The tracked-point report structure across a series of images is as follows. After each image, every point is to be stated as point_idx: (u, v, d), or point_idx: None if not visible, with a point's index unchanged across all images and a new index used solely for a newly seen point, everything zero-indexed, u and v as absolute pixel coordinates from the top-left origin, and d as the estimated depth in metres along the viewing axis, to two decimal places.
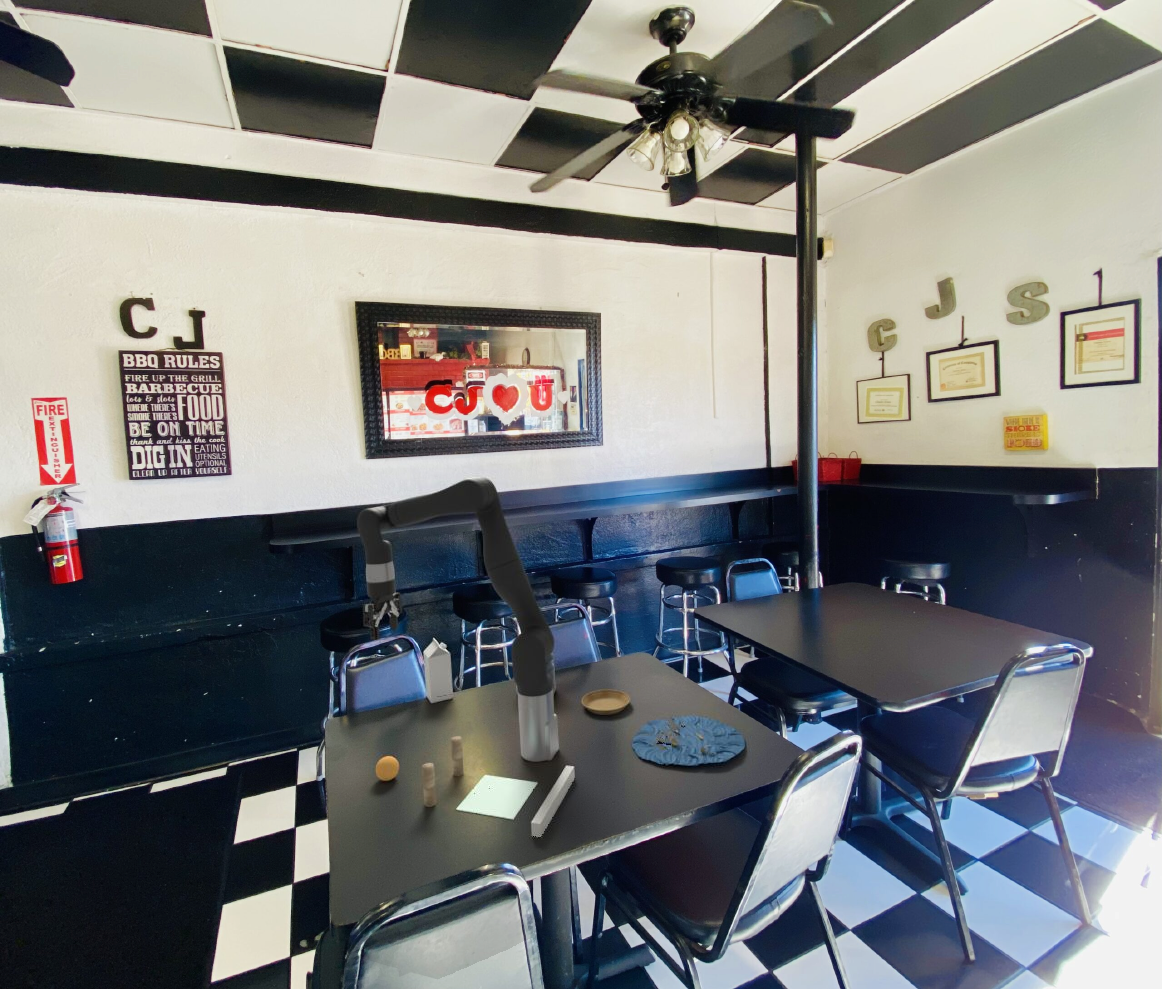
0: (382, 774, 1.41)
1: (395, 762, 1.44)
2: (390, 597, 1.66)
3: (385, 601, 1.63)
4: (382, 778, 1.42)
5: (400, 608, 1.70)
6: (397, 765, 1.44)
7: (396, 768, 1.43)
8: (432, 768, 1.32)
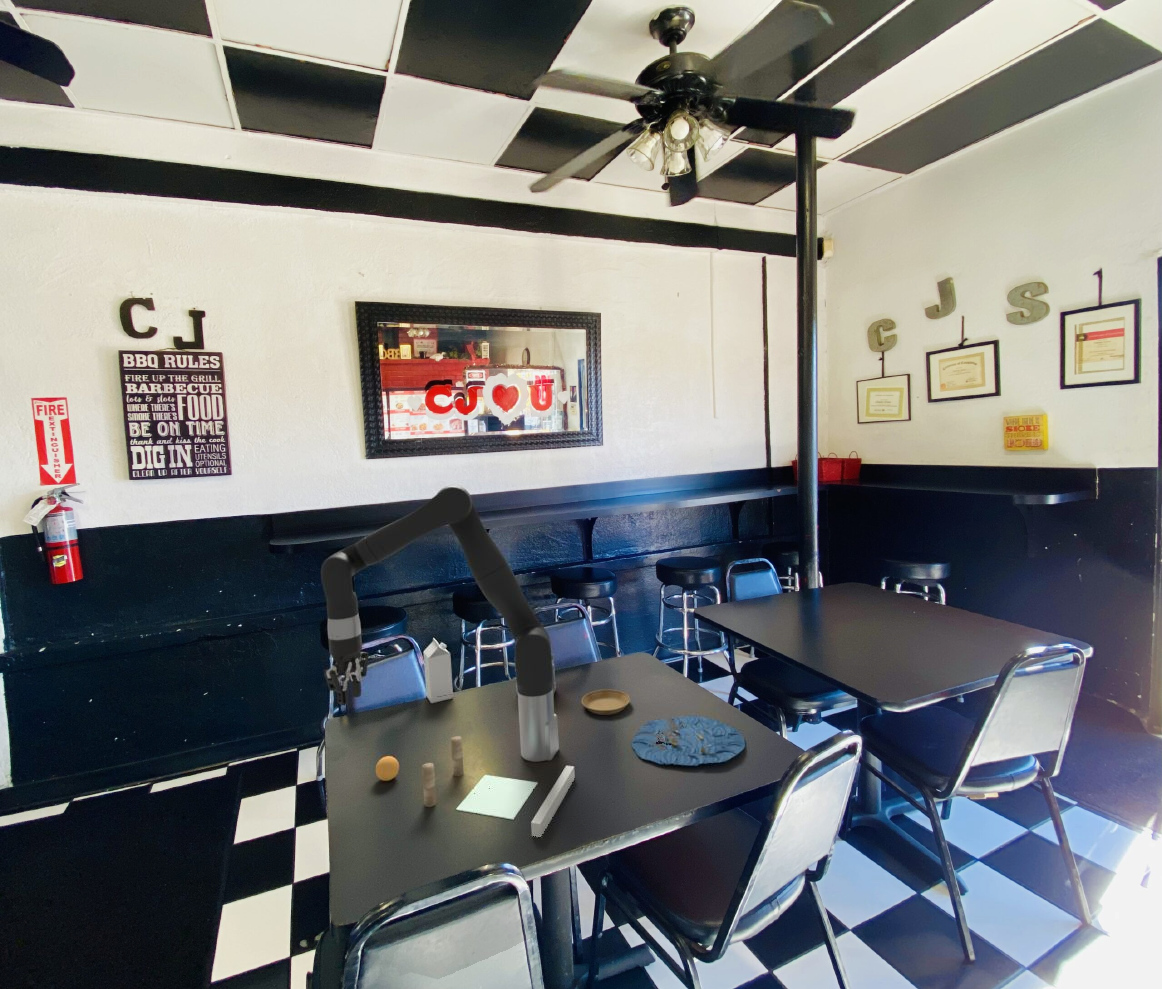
0: (382, 774, 1.41)
1: (395, 762, 1.44)
2: (356, 653, 1.47)
3: (350, 659, 1.44)
4: (382, 778, 1.42)
5: (364, 671, 1.49)
6: (397, 765, 1.44)
7: (396, 768, 1.43)
8: (432, 768, 1.32)
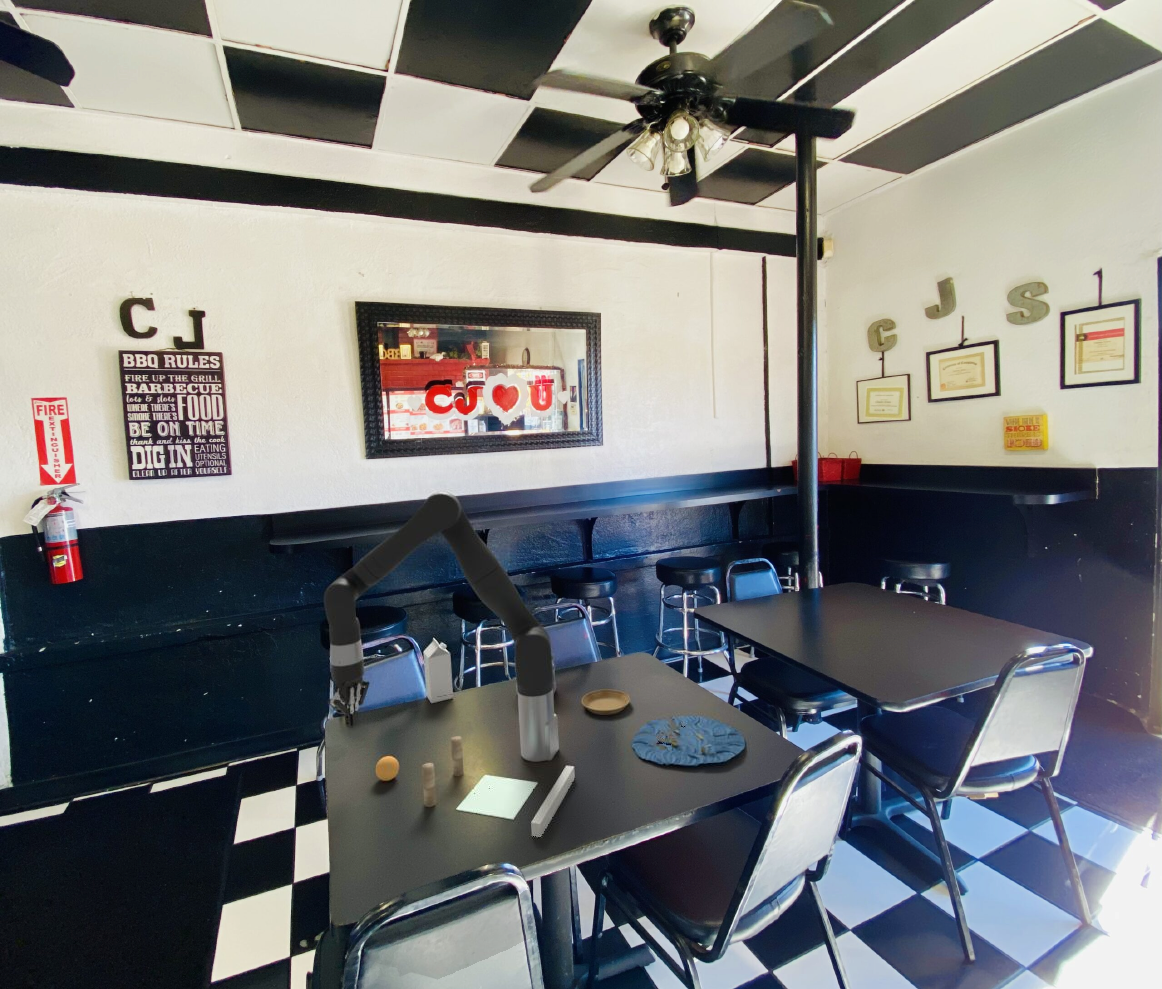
0: (382, 774, 1.41)
1: (395, 762, 1.44)
2: None
3: (352, 685, 1.45)
4: (382, 778, 1.42)
5: (362, 699, 1.48)
6: (397, 765, 1.44)
7: (396, 768, 1.43)
8: (432, 768, 1.32)
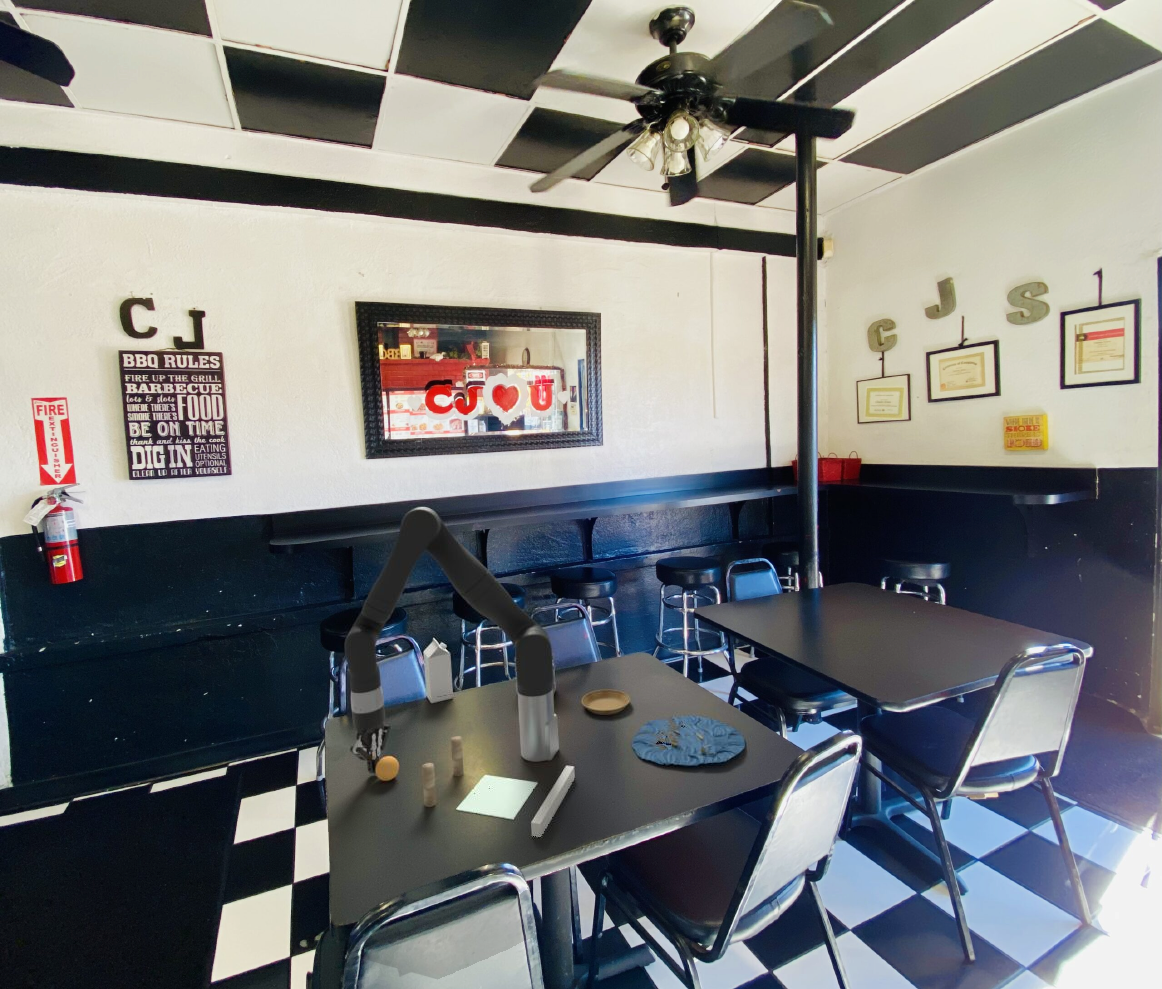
0: (382, 774, 1.41)
1: (395, 762, 1.44)
2: None
3: (373, 731, 1.45)
4: (382, 778, 1.42)
5: (383, 744, 1.48)
6: (397, 765, 1.44)
7: (396, 768, 1.43)
8: (432, 768, 1.32)
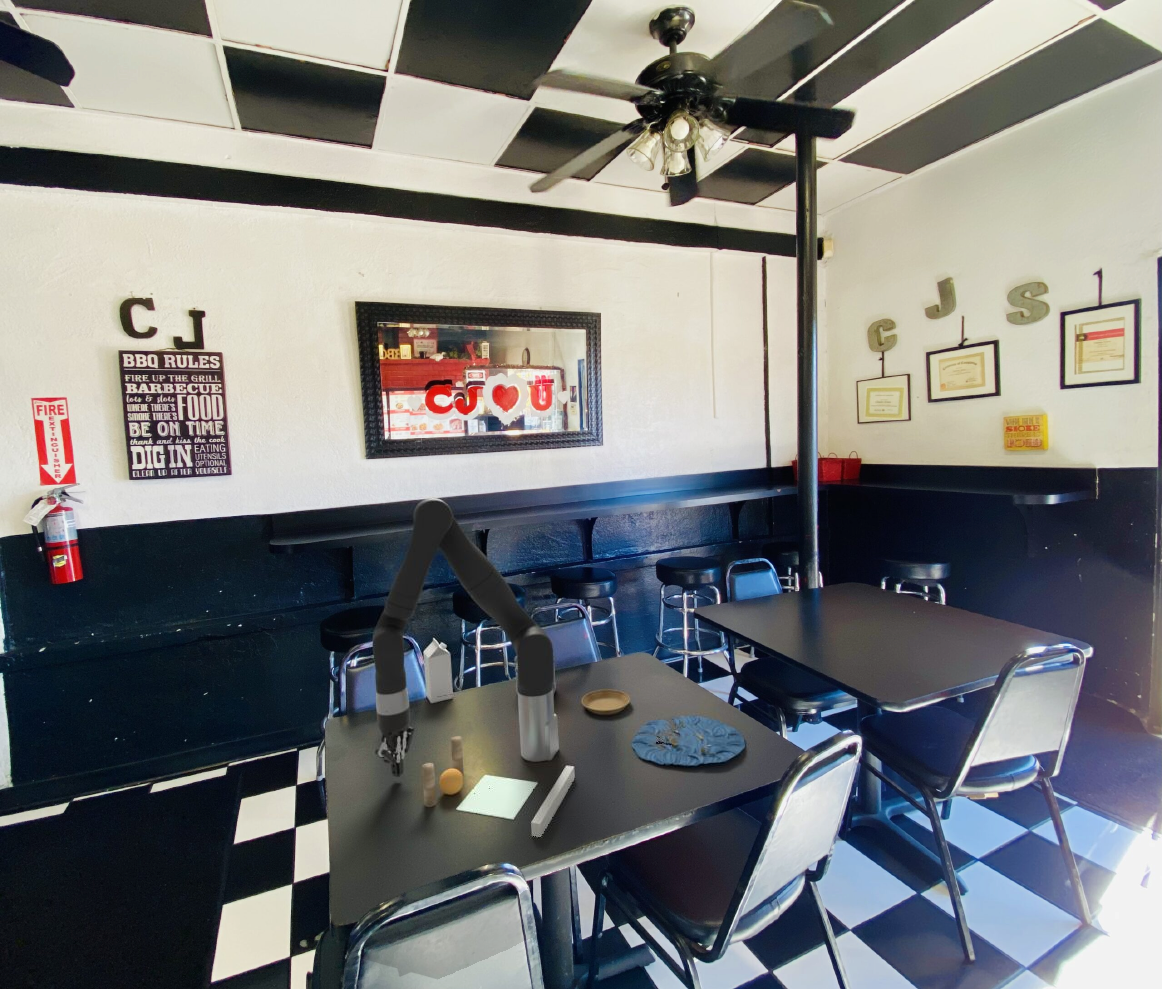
0: (447, 788, 1.34)
1: (461, 776, 1.37)
2: None
3: (398, 733, 1.42)
4: (446, 792, 1.35)
5: (407, 747, 1.45)
6: (462, 780, 1.37)
7: (461, 784, 1.36)
8: (432, 768, 1.32)
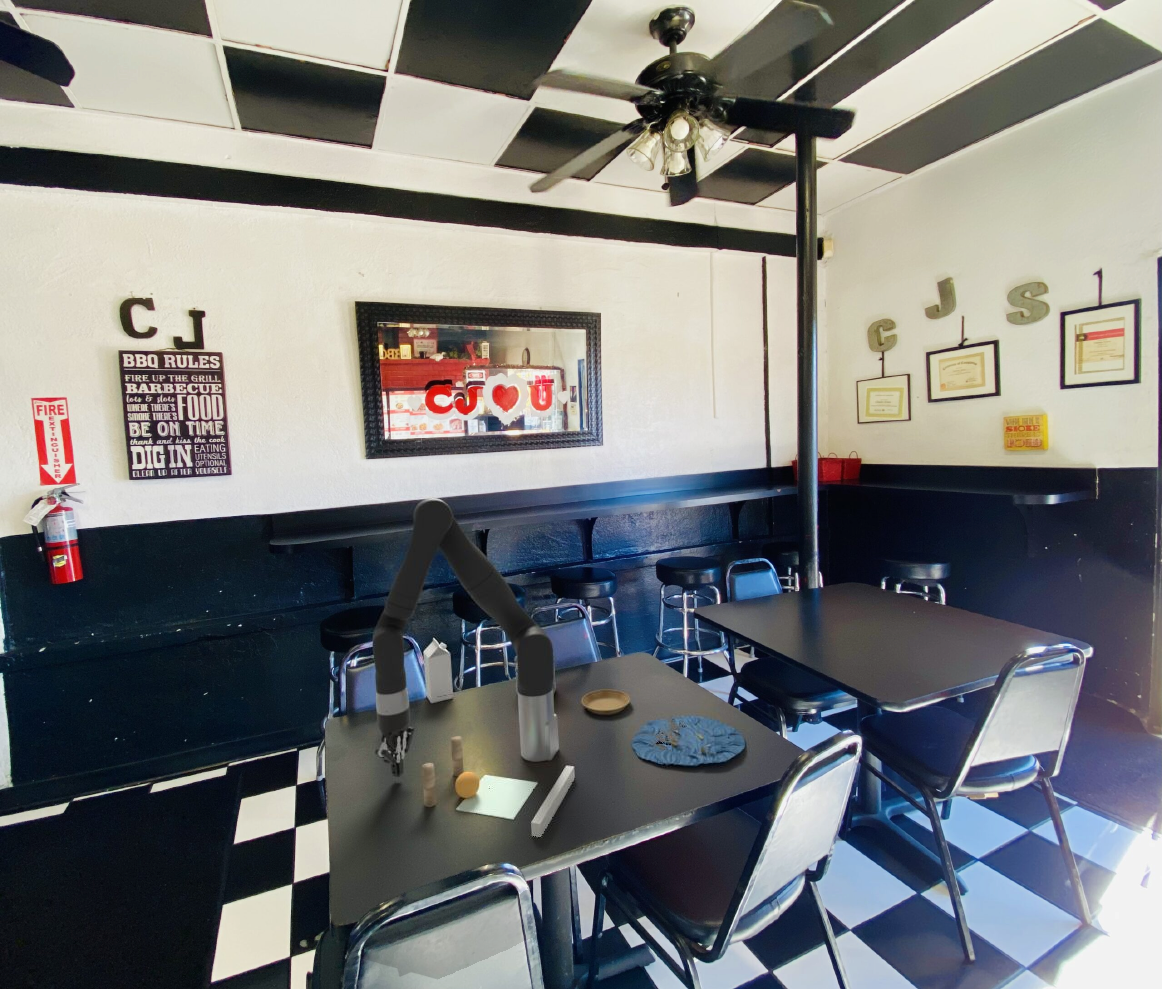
0: (460, 794, 1.33)
1: None
2: None
3: (398, 733, 1.42)
4: (457, 791, 1.34)
5: (407, 747, 1.45)
6: None
7: None
8: (432, 768, 1.32)
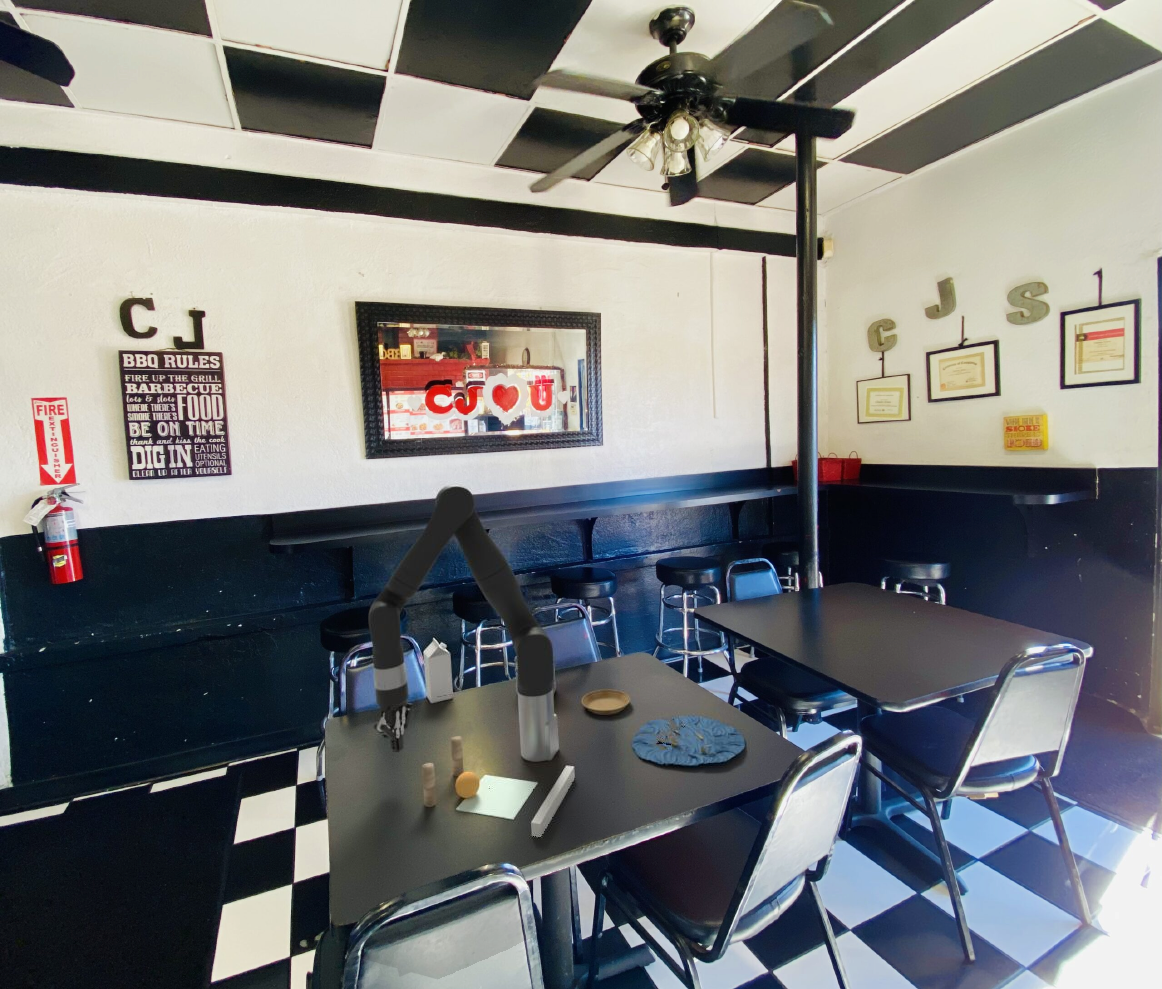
0: (460, 794, 1.33)
1: None
2: None
3: (397, 708, 1.41)
4: (457, 791, 1.34)
5: (406, 722, 1.45)
6: None
7: None
8: (432, 768, 1.32)
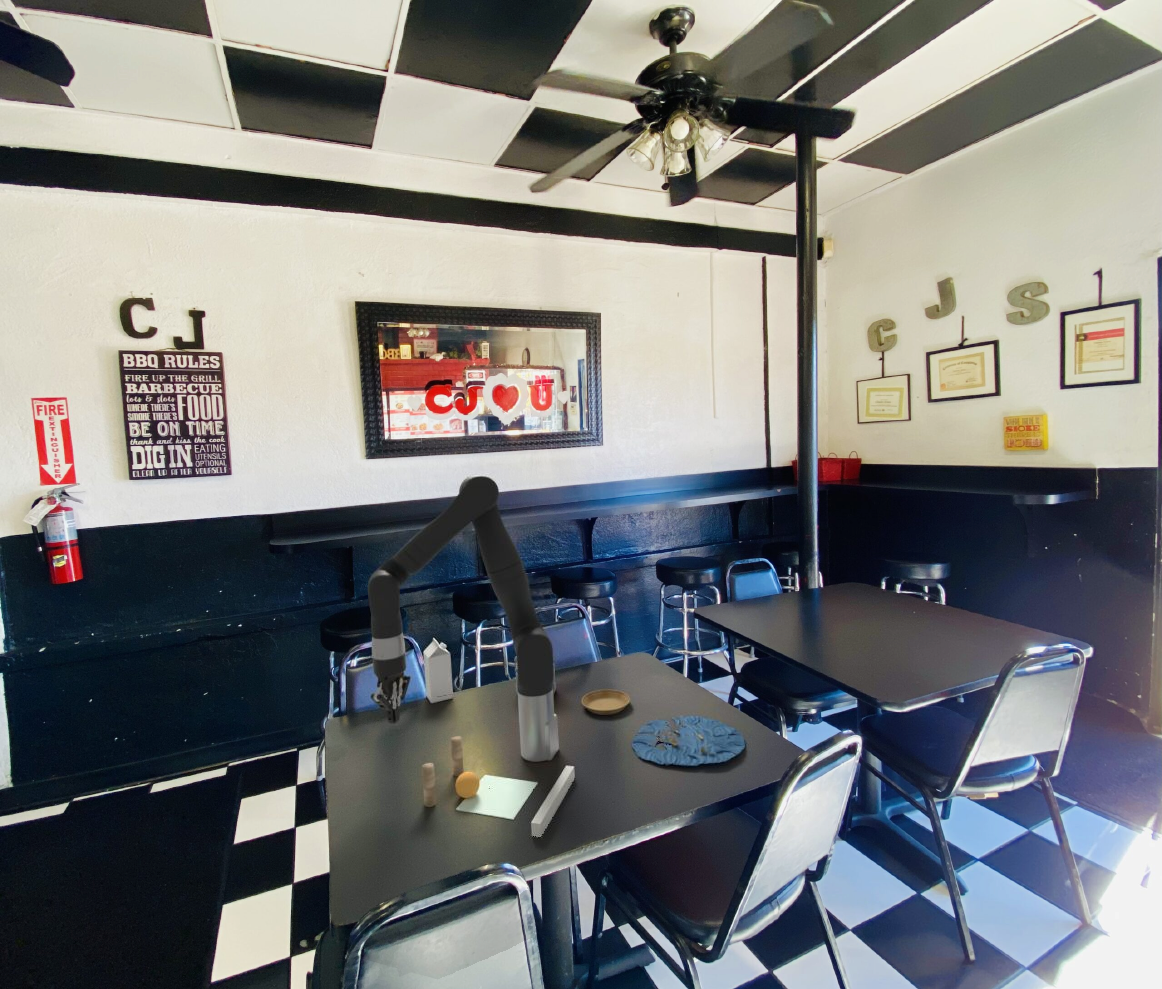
0: (460, 794, 1.33)
1: None
2: None
3: (394, 679, 1.41)
4: (457, 791, 1.34)
5: (403, 694, 1.44)
6: None
7: None
8: (432, 768, 1.32)
